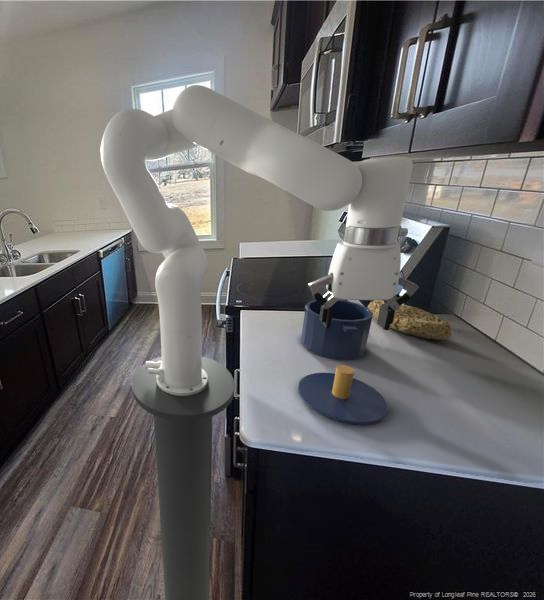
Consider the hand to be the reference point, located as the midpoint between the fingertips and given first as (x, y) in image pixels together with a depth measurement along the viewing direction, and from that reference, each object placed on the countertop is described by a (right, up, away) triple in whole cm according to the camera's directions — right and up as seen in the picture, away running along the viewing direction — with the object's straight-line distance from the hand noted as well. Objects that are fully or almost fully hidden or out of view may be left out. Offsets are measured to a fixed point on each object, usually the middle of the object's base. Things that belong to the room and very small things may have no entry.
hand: (353, 326), depth 60 cm
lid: (0, -15, +4) cm, 15 cm away
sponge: (+34, -4, +30) cm, 46 cm away
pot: (+10, -7, +24) cm, 27 cm away
